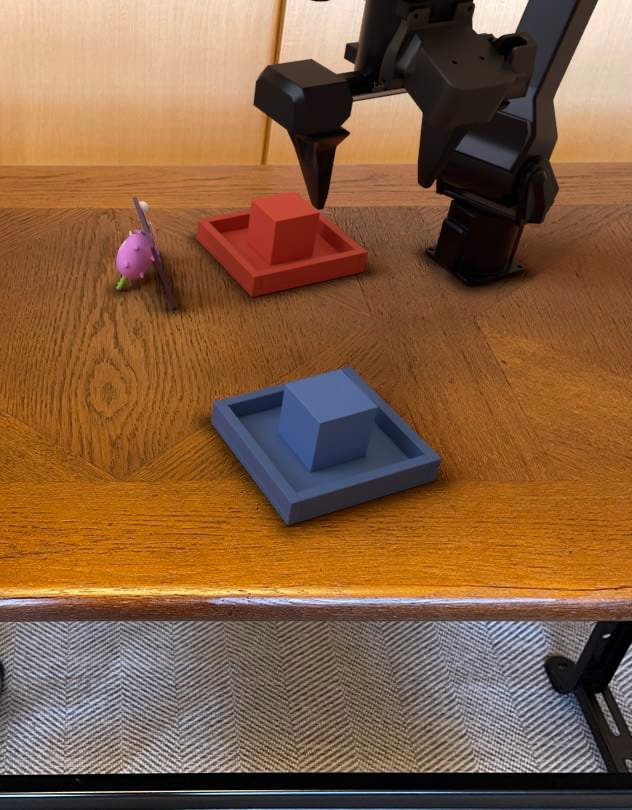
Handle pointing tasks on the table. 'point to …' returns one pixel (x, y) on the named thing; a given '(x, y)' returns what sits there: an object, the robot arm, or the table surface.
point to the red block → (282, 227)
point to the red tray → (258, 277)
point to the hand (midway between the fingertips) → (371, 196)
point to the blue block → (326, 420)
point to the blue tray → (329, 487)
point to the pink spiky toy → (140, 253)
